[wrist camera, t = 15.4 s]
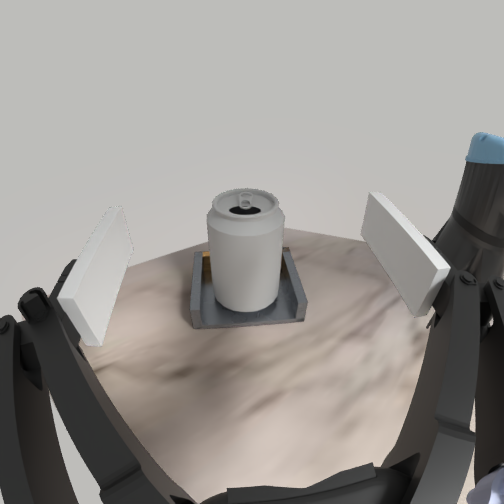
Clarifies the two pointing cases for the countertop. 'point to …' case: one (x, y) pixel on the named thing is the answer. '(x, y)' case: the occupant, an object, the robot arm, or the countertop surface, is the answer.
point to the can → (245, 248)
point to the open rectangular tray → (217, 316)
